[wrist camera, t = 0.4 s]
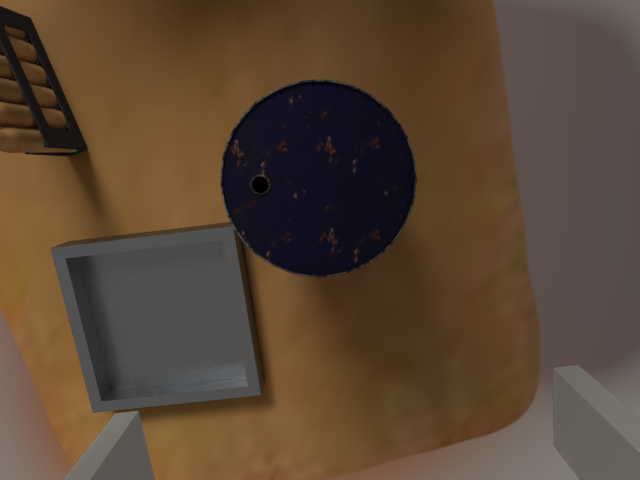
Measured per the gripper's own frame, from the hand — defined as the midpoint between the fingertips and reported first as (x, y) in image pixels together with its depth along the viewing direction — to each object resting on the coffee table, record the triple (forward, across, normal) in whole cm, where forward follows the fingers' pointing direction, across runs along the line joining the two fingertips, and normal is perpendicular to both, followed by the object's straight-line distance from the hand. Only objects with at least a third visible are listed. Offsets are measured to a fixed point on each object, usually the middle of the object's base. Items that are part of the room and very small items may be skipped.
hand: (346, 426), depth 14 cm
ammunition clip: (+24, -21, +16) cm, 36 cm away
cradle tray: (+24, -15, -4) cm, 29 cm away
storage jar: (+24, 0, +7) cm, 25 cm away
